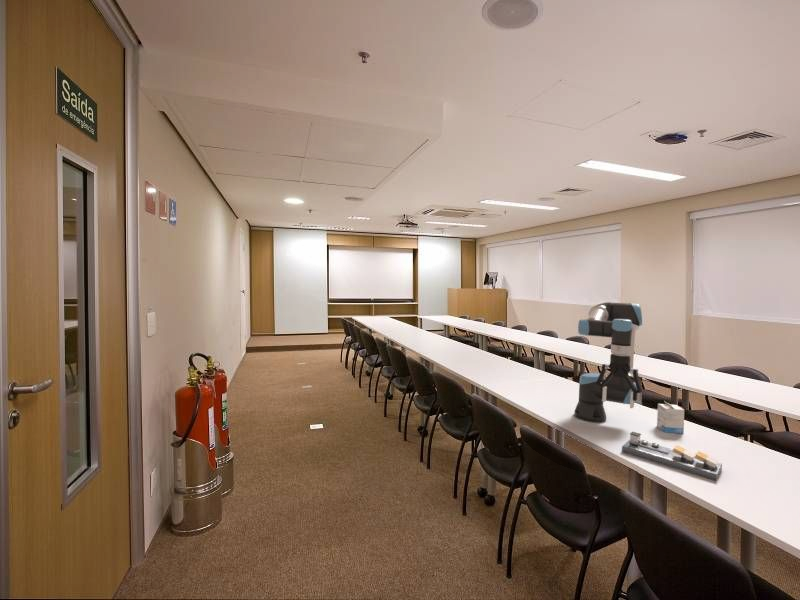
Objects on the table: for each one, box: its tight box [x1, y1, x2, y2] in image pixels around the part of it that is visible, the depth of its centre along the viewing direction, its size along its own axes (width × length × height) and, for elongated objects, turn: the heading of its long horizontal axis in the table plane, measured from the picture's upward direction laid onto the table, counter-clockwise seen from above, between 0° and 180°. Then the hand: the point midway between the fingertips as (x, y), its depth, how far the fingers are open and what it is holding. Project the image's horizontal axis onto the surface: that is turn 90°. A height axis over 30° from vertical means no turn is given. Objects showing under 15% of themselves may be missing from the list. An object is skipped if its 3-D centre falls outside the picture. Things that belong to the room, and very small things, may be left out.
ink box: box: [656, 400, 685, 434], centre depth 187 cm, size 9×8×13 cm
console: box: [621, 439, 723, 482], centre depth 154 cm, size 31×13×4 cm, turn 43°
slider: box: [629, 431, 642, 445], centre depth 163 cm, size 3×3×4 cm
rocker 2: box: [695, 450, 719, 468], centre depth 146 cm, size 6×6×2 cm
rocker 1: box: [672, 444, 696, 461], centre depth 151 cm, size 6×6×2 cm
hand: (617, 404), depth 168 cm, fingers open, 10 cm apart
